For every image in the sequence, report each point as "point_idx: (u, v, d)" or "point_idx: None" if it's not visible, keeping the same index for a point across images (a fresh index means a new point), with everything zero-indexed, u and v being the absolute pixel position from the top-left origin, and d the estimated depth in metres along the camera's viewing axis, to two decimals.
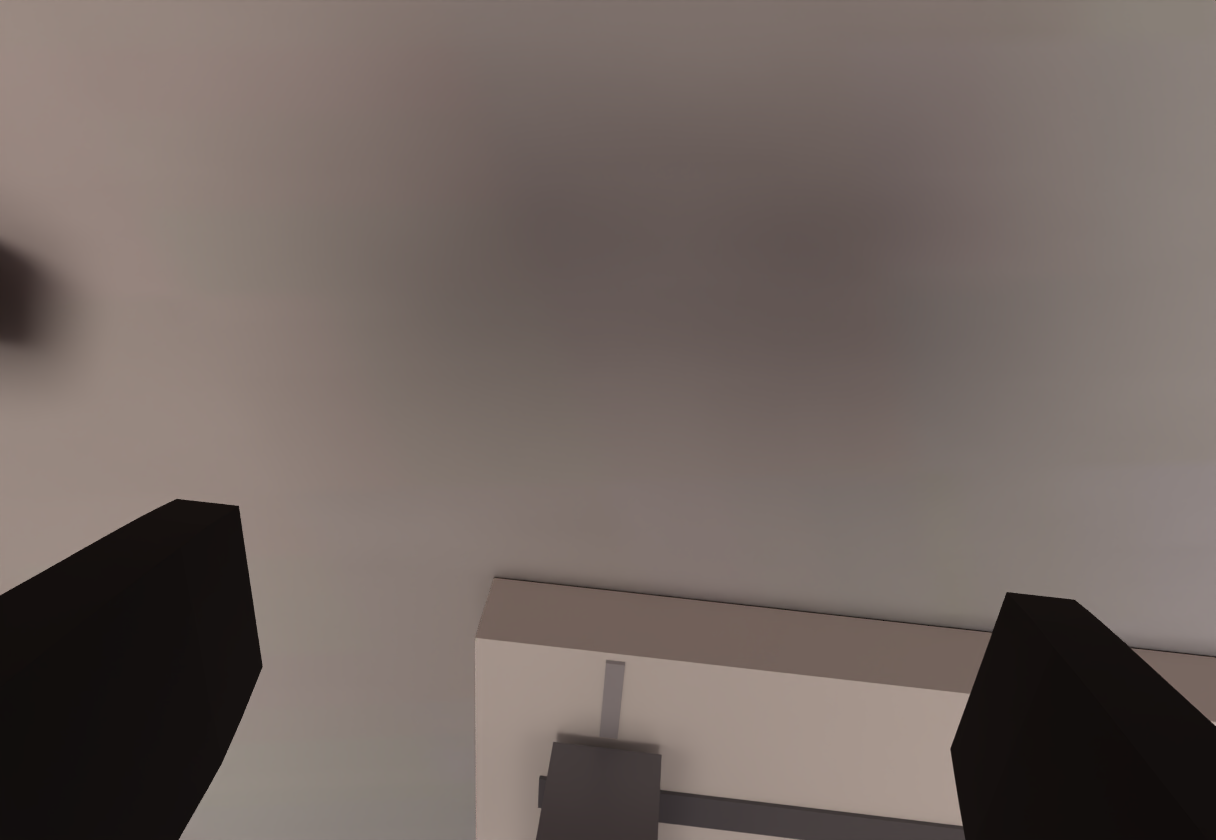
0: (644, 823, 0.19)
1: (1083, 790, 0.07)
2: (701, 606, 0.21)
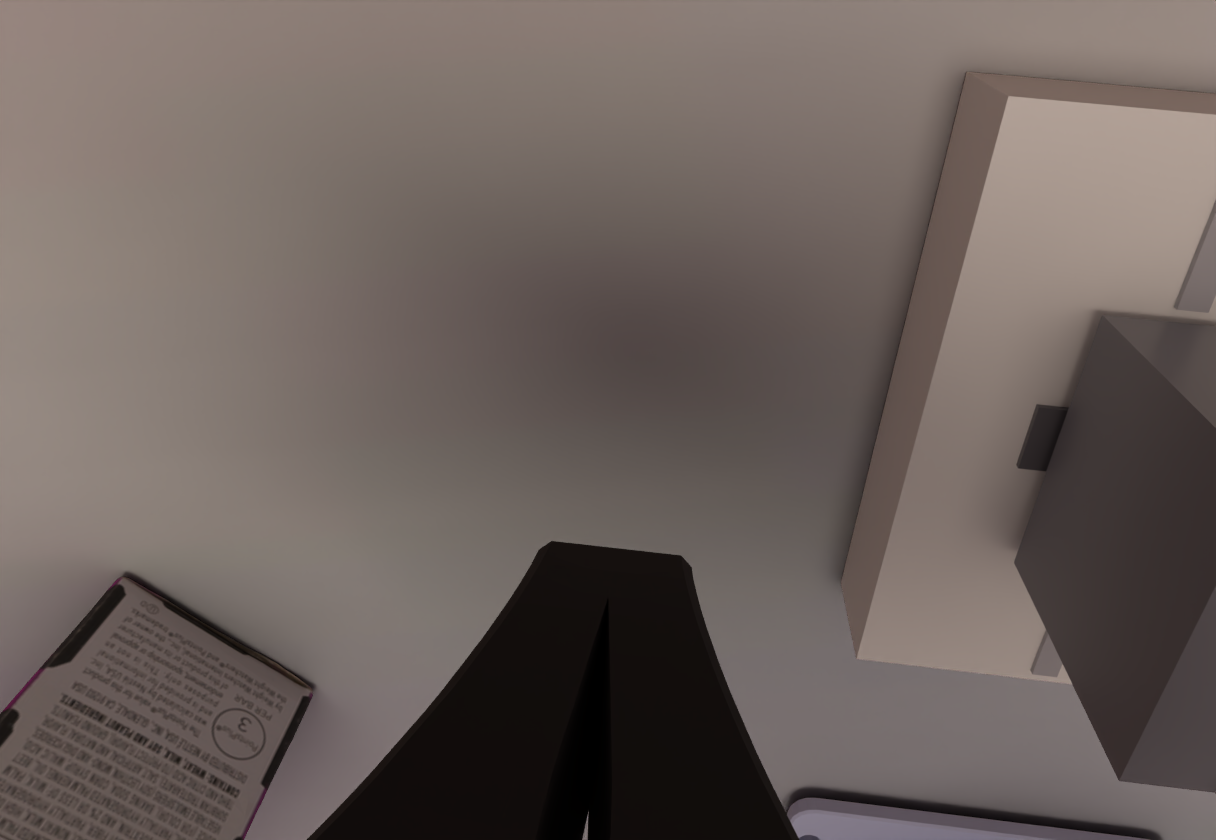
0: None
1: (602, 731, 0.07)
2: None
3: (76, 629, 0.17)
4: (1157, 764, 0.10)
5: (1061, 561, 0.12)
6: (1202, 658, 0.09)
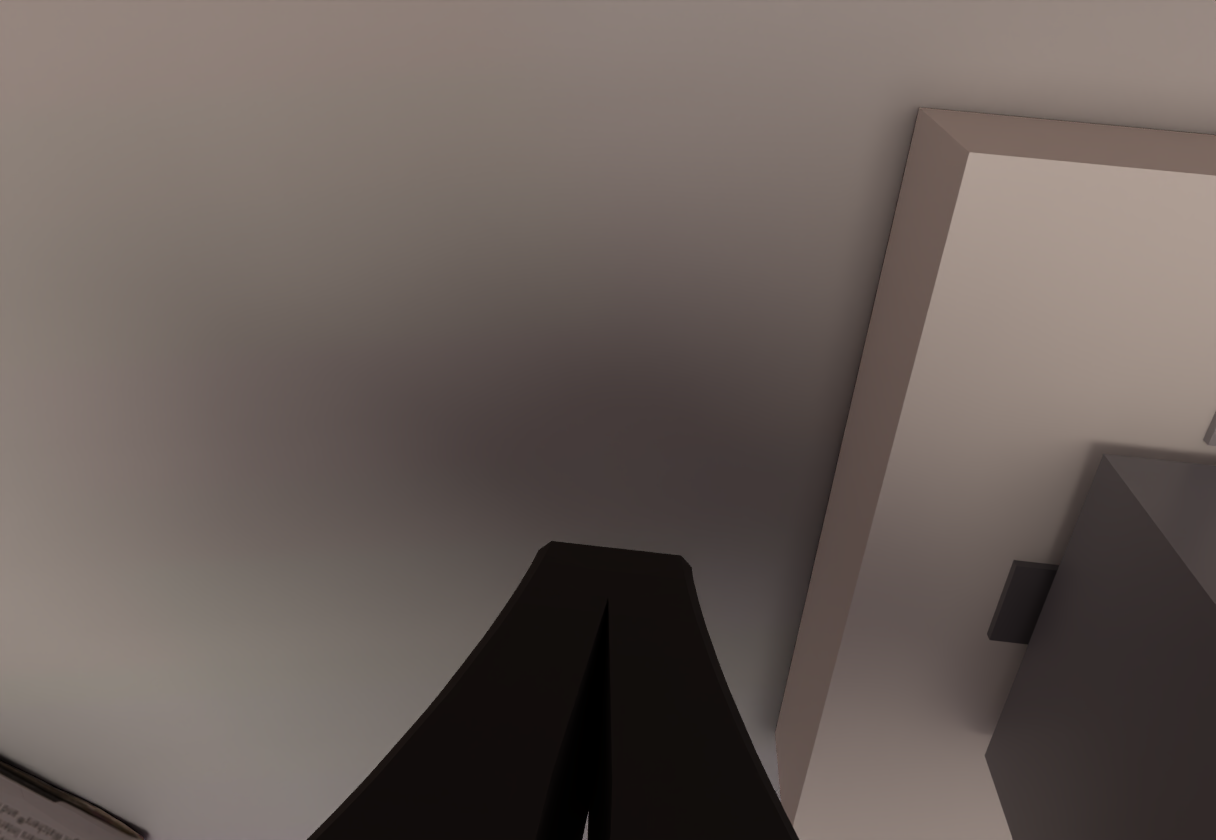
0: None
1: (602, 732, 0.07)
2: None
3: None
4: None
5: (1046, 788, 0.09)
6: None
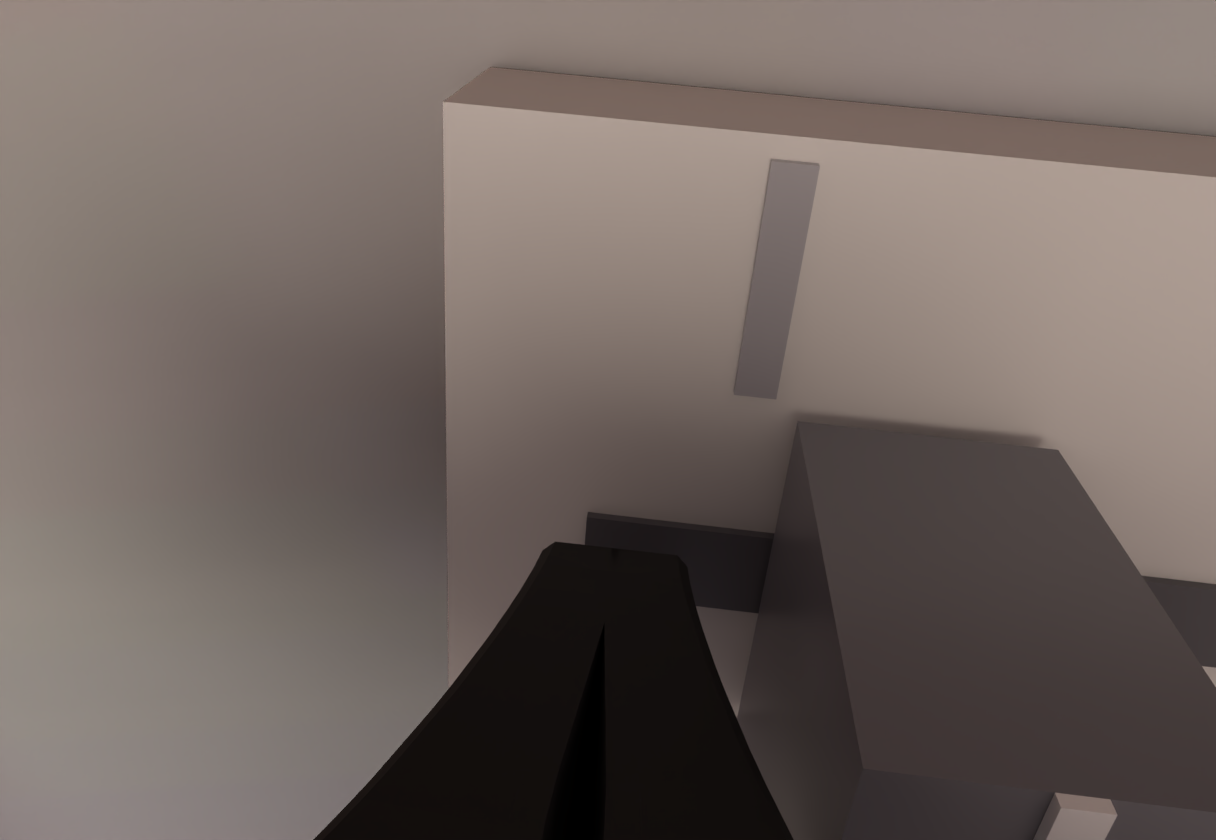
0: (1097, 564, 0.07)
1: (598, 731, 0.07)
2: (960, 115, 0.09)
3: None
4: None
5: (754, 752, 0.09)
6: None
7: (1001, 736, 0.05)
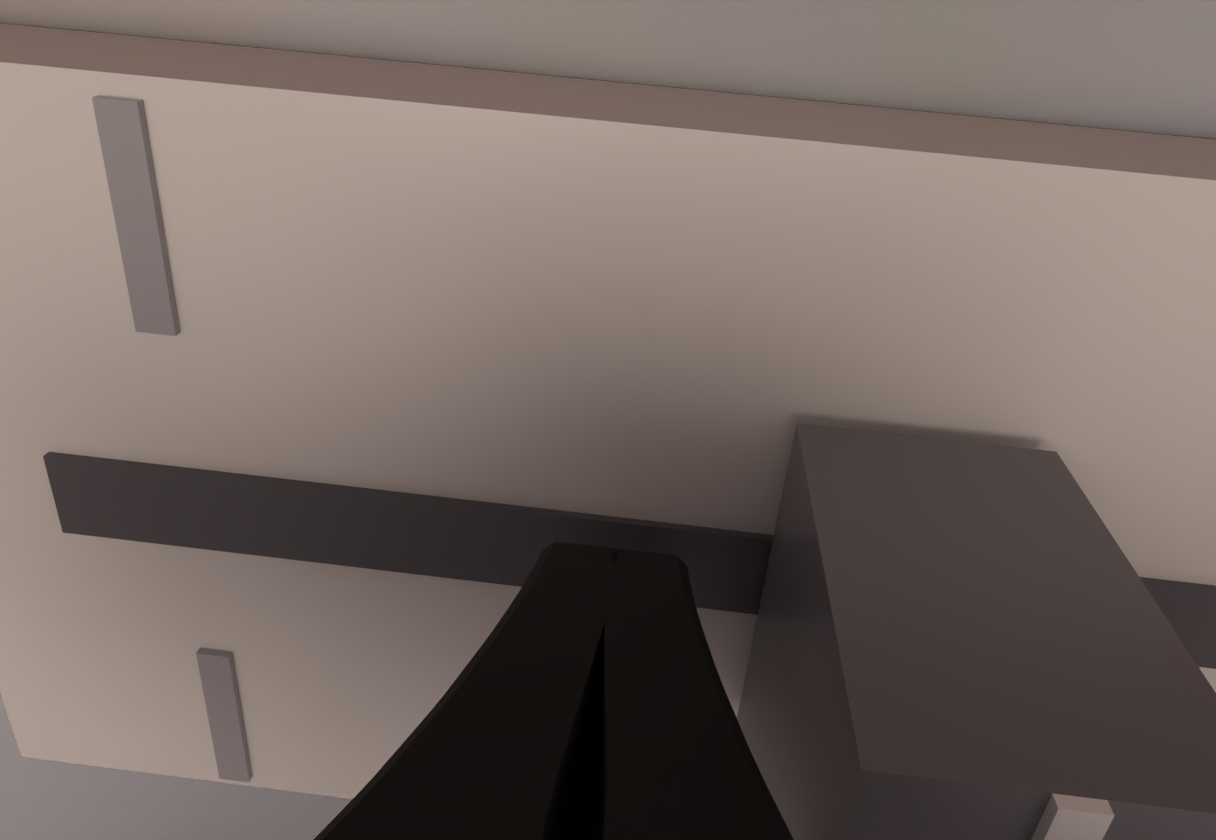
0: (1095, 566, 0.07)
1: (598, 731, 0.07)
2: (383, 63, 0.09)
3: None
4: None
5: (753, 754, 0.09)
6: None
7: (999, 738, 0.05)
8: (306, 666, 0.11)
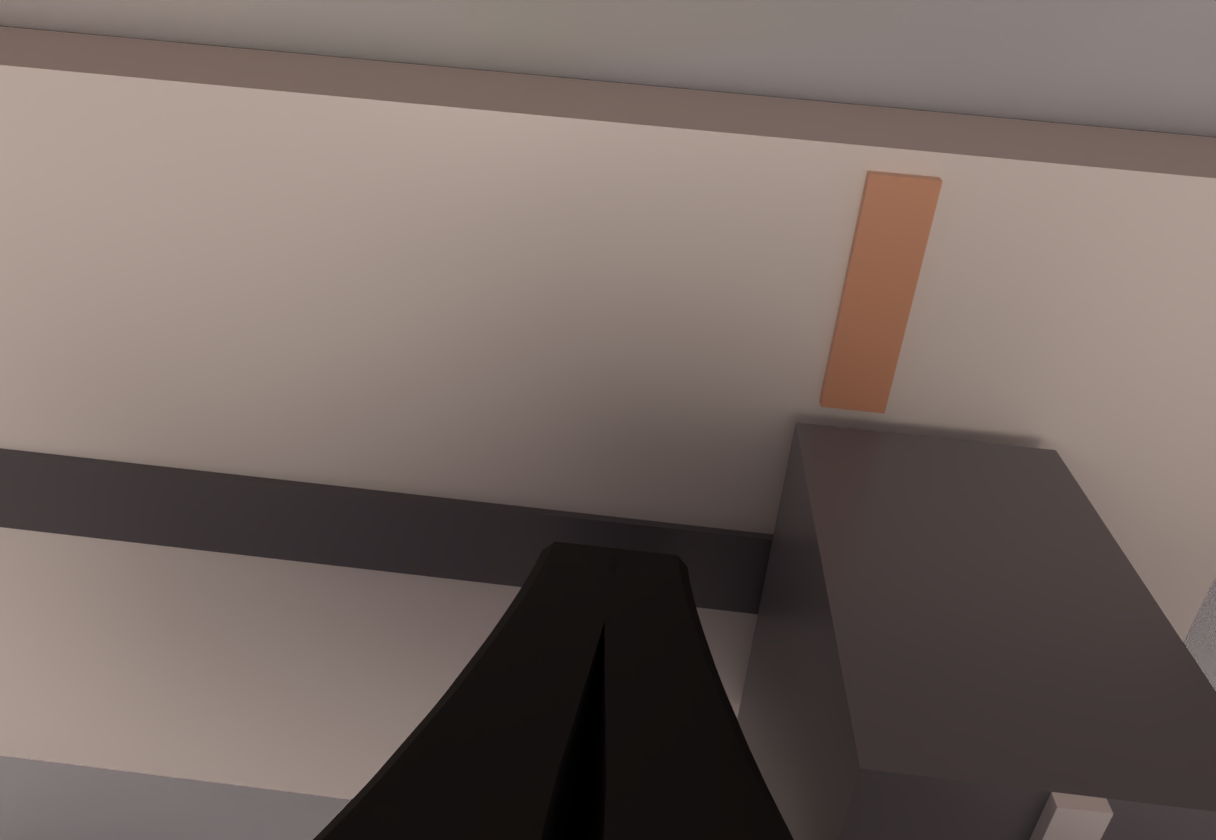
0: (1095, 565, 0.07)
1: (598, 730, 0.07)
2: None
3: None
4: None
5: (753, 754, 0.09)
6: None
7: (998, 736, 0.05)
8: None
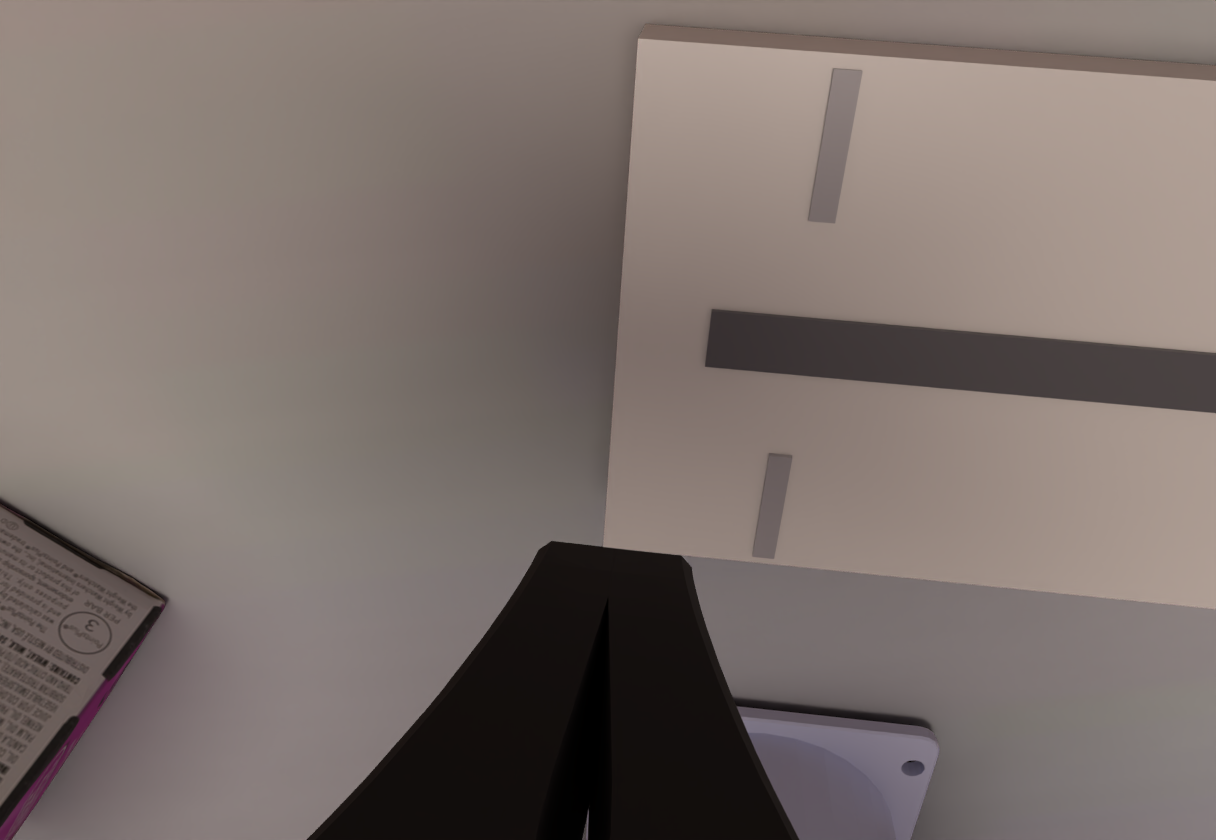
0: None
1: (603, 732, 0.07)
2: (947, 47, 0.15)
3: None
4: None
5: None
6: None
7: None
8: (842, 464, 0.16)
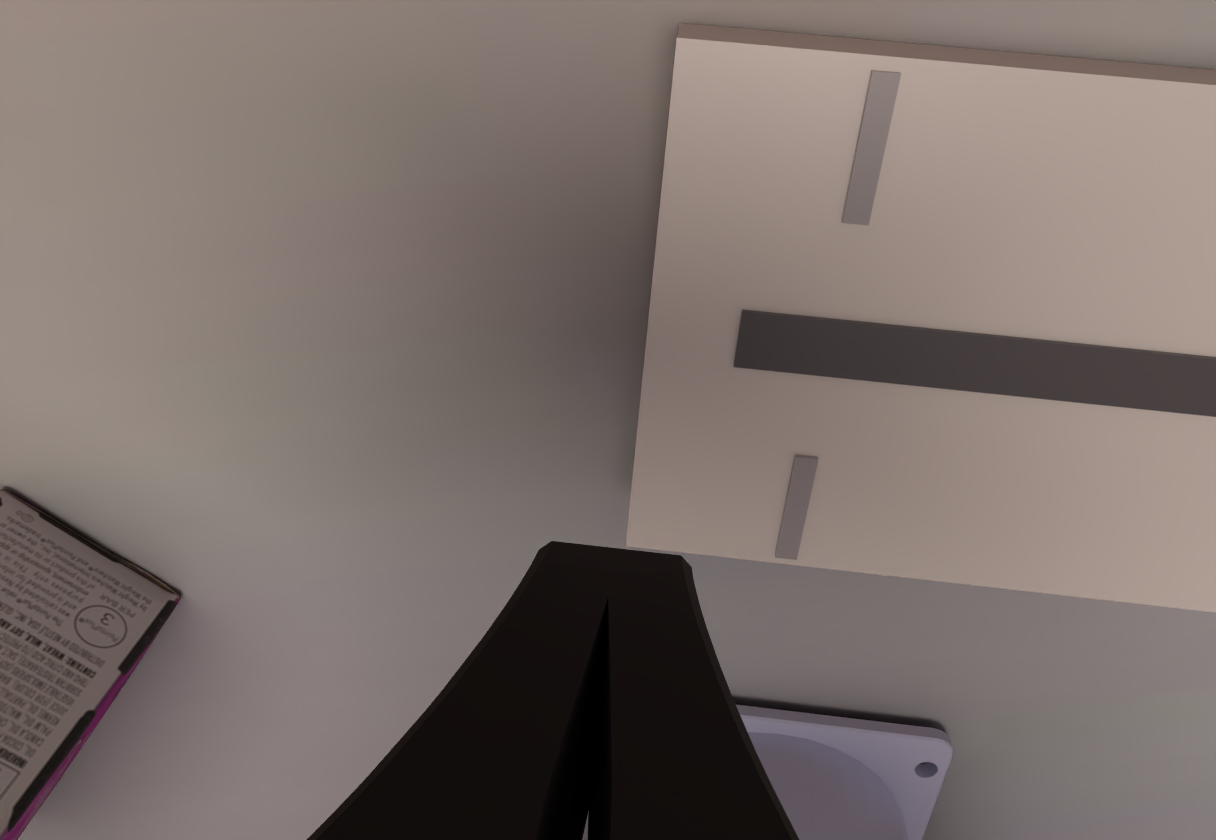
0: None
1: (602, 731, 0.07)
2: (981, 50, 0.15)
3: None
4: None
5: None
6: None
7: None
8: (868, 466, 0.16)
